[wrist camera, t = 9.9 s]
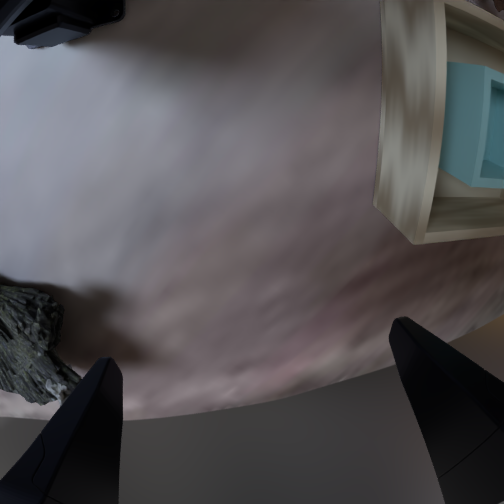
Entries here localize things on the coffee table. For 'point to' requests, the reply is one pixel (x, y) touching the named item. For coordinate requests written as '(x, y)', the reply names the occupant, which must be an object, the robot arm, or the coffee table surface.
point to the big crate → (431, 119)
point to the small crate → (474, 125)
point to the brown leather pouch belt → (499, 4)
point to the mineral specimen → (32, 347)
